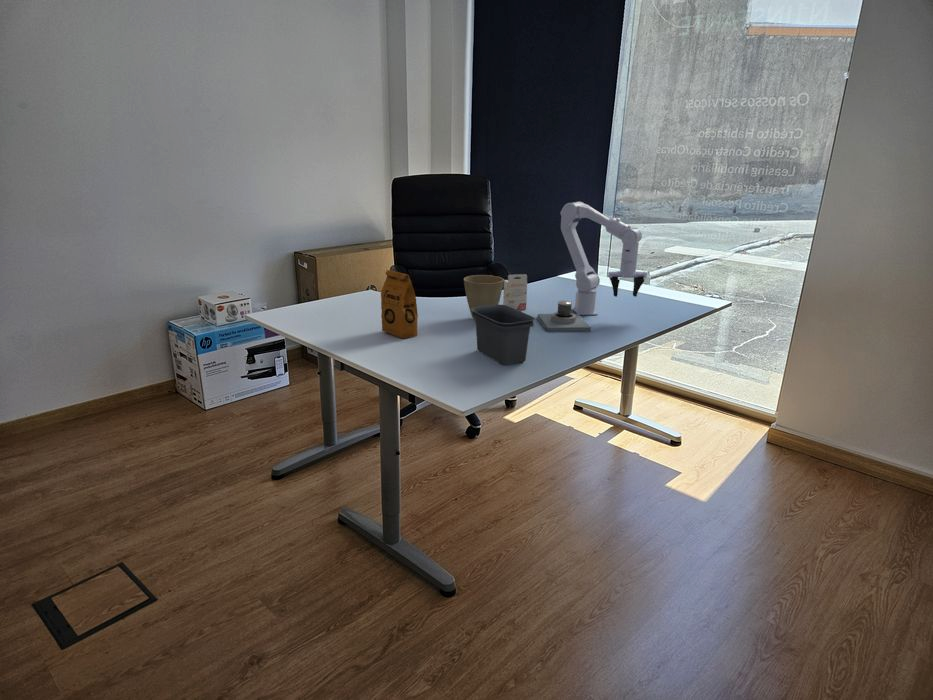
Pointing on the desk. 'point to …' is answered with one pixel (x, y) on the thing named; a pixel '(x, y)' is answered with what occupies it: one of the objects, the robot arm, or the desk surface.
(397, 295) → the coffee package
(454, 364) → the desk surface
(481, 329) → the storage bin
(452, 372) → the desk surface
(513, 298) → the ink cartridge box
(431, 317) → the desk surface
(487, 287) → the plant pot
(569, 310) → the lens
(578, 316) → the mount plate
